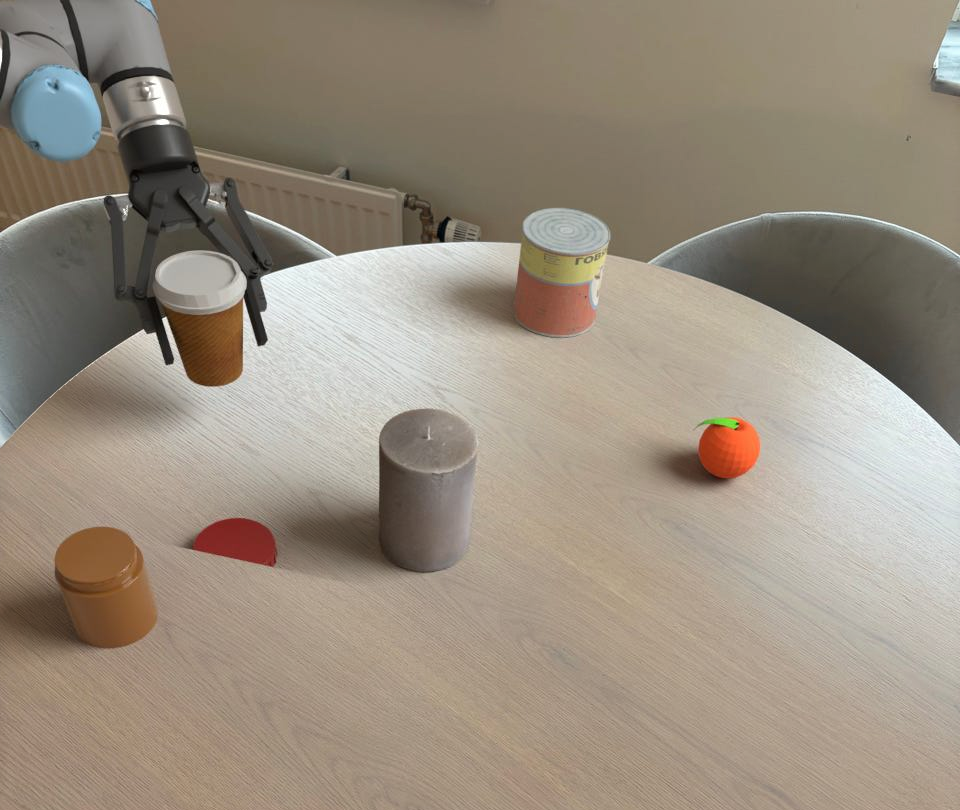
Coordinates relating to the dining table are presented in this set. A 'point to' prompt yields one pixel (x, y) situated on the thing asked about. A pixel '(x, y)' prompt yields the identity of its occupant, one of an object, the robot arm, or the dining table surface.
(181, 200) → the robot arm
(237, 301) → the disposable coffee cup
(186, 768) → the dining table surface
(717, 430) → the clementine
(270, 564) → the lid
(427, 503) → the pillar candle
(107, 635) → the jam jar
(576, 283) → the canned food
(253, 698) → the dining table surface
